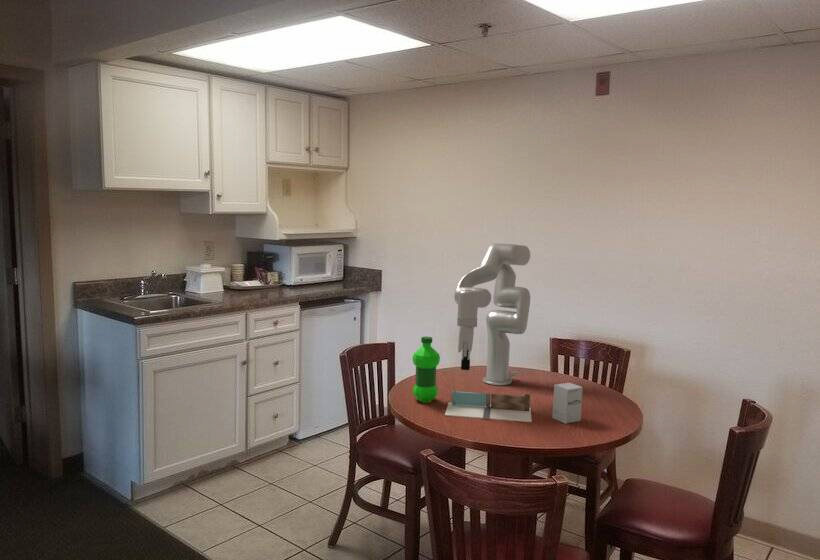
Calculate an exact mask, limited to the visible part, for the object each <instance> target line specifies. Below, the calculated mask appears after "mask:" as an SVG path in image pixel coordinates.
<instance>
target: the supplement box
mask: <svg viewBox="0 0 820 560" xmlns="http://www.w3.org/2000/svg"><path fill="white" fill-rule="evenodd" d="M583 389H584V388H583V386H581V385H577V384H575V383H571V382H564V383H563V382H562V383H556V384H553V400H552V415H551V418H552V419H555V420H557V421H558V422H561V423H563V424H570V423H576V422H581V420H582V409H583V408H582V406H583V404H582V403H583Z"/></svg>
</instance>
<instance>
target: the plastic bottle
mask: <svg viewBox="0 0 820 560" xmlns="http://www.w3.org/2000/svg"><path fill="white" fill-rule="evenodd" d="M420 340H421V341H420V343H422V344H421V345H422V346H421V347H419V349H417V350H416V351H415V352H414V353H413V355H412V363H413V365H414V366H415V383H414V386H413V388H412V393H413V396H414V397H415V398H416V399H417V400H418V401H419V402H420V401H421V403H431V402H432V401H434V399H435V398H436V397H437V395H438V393H439V389H438V385H437V384H436V383H437V367H438V366H439V364H440V360H441V355H440V353H439V352H437V350H436V349H434V348H433V346H432V343H433V337H432V336H421V339H420ZM430 401H431V402H430Z"/></svg>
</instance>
